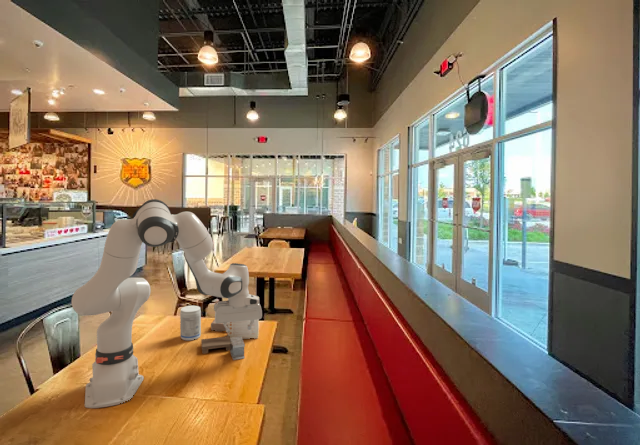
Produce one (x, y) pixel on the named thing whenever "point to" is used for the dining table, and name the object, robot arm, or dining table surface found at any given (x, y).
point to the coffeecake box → (244, 329)
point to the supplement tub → (190, 322)
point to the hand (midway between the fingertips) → (238, 330)
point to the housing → (237, 348)
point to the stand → (215, 343)
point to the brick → (218, 326)
